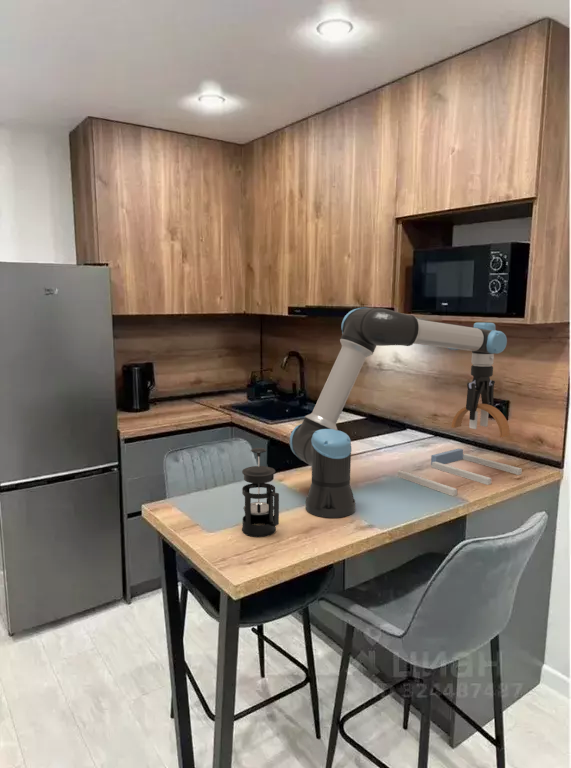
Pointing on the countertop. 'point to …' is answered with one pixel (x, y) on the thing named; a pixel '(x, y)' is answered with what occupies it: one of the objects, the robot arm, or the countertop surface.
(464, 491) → the countertop surface
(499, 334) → the robot arm
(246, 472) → the french press
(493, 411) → the arch
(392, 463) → the countertop surface
